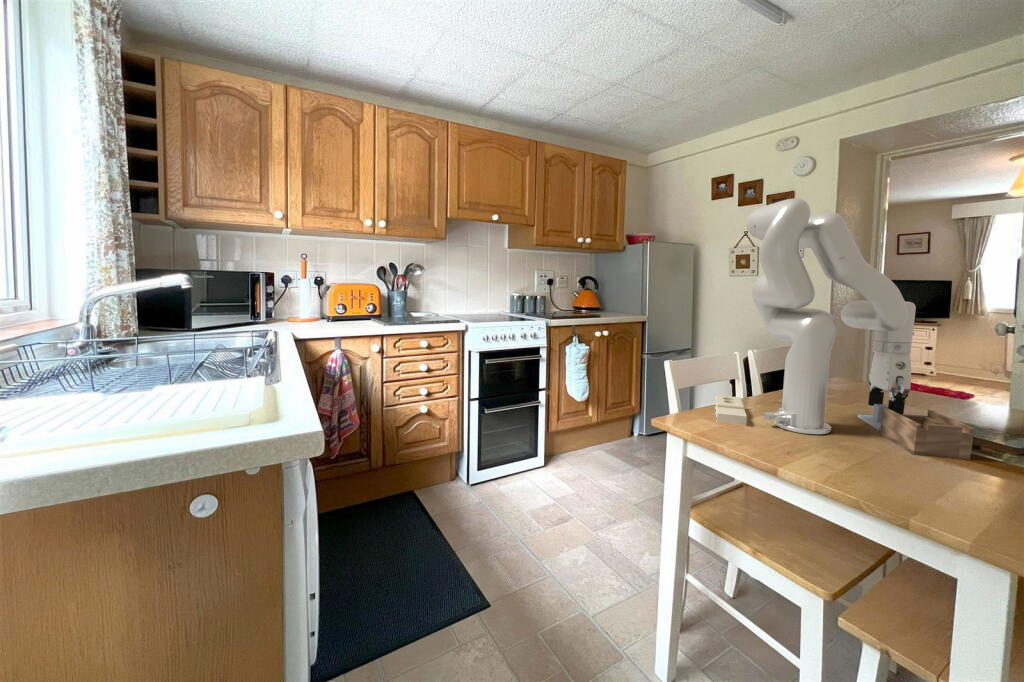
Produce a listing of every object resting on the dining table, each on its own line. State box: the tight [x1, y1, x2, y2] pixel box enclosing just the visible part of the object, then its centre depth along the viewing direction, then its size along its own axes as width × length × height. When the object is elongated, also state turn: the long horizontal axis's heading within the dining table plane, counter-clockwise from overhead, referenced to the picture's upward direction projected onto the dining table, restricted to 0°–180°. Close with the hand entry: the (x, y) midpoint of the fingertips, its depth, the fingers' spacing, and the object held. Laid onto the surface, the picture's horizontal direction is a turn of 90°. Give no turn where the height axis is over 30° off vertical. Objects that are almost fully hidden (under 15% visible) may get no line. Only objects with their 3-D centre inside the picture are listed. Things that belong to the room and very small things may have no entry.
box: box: [879, 407, 975, 460], centre depth 100 cm, size 14×10×7 cm
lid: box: [857, 404, 888, 431], centre depth 116 cm, size 12×7×6 cm, turn 162°
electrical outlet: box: [714, 395, 748, 426], centre depth 125 cm, size 7×4×18 cm
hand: (884, 410), depth 115 cm, fingers open, 9 cm apart
